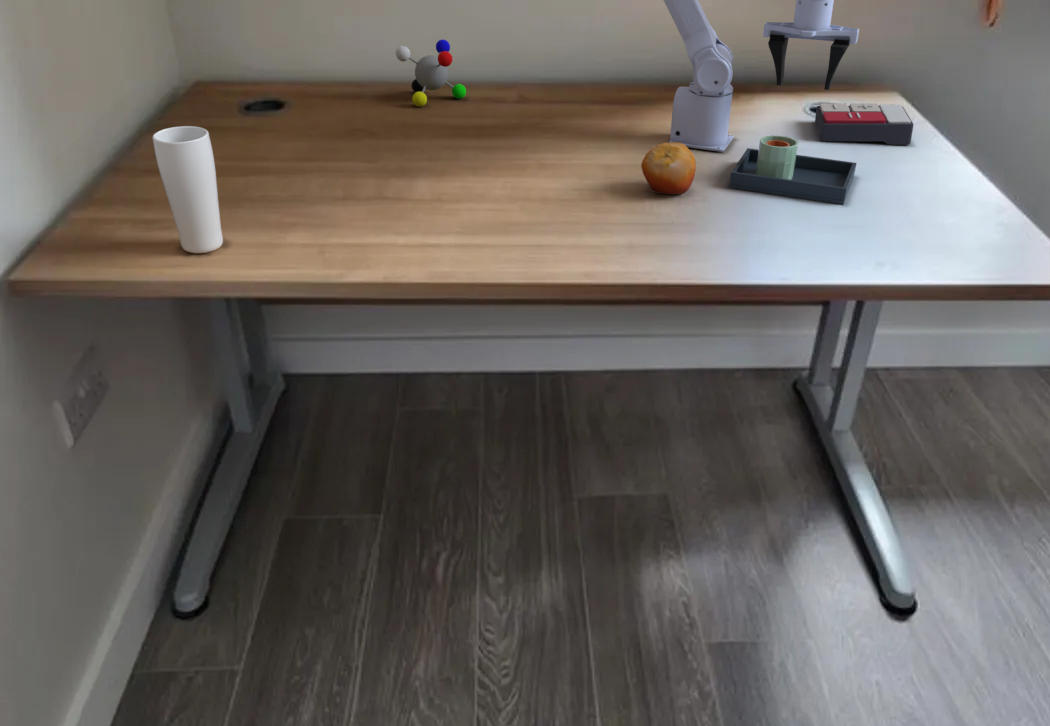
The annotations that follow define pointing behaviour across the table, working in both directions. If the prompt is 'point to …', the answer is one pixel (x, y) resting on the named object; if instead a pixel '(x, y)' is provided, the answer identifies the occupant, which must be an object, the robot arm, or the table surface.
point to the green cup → (776, 158)
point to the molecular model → (431, 72)
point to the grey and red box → (864, 123)
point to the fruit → (669, 168)
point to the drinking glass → (190, 185)
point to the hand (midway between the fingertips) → (803, 86)
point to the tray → (797, 178)
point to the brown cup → (778, 143)
